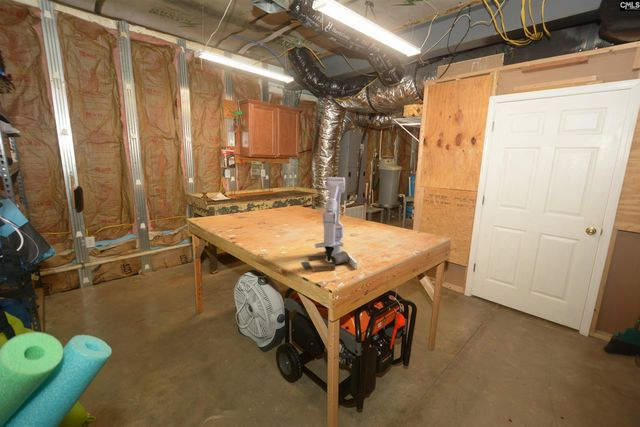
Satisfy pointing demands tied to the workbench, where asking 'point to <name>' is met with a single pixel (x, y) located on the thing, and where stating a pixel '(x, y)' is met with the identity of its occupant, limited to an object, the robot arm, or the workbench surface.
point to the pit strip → (306, 265)
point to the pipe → (339, 257)
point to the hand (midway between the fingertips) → (329, 260)
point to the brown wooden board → (322, 267)
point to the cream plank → (352, 261)
